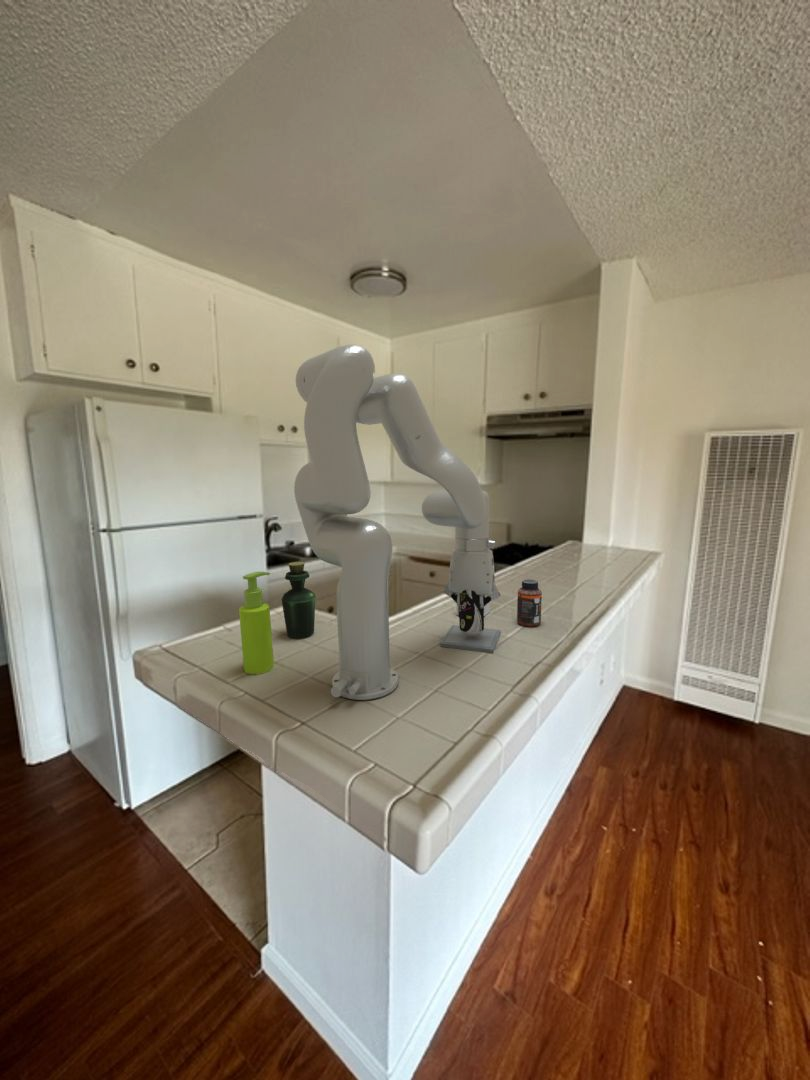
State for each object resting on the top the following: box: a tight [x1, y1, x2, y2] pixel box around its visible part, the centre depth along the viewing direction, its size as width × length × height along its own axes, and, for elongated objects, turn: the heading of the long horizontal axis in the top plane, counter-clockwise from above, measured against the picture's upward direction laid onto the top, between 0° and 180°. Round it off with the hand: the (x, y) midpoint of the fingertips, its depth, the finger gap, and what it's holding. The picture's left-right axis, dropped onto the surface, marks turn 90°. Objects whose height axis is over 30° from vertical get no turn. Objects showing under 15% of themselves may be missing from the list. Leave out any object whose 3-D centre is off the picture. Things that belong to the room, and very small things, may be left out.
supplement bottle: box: [516, 578, 543, 628], centre depth 112 cm, size 6×6×11 cm
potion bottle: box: [281, 561, 316, 640], centre depth 107 cm, size 8×8×18 cm
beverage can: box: [458, 590, 485, 635], centre depth 102 cm, size 6×6×12 cm
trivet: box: [439, 624, 502, 654], centre depth 103 cm, size 12×12×1 cm
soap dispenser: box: [238, 571, 275, 675], centre depth 90 cm, size 6×7×20 cm
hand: (471, 621), depth 103 cm, fingers closed on beverage can, 3 cm apart
